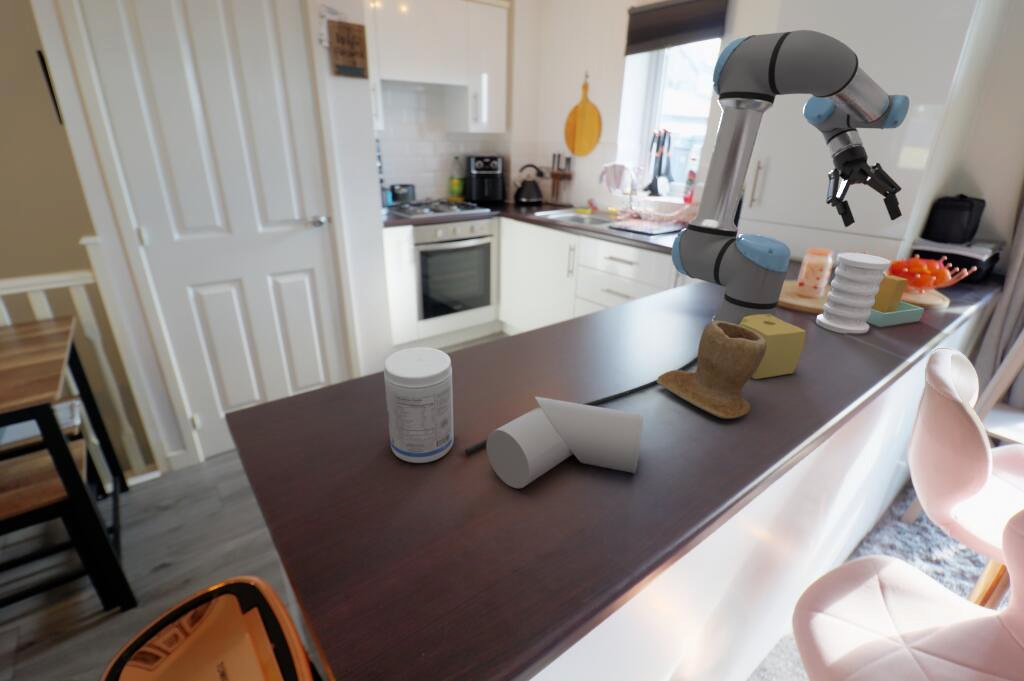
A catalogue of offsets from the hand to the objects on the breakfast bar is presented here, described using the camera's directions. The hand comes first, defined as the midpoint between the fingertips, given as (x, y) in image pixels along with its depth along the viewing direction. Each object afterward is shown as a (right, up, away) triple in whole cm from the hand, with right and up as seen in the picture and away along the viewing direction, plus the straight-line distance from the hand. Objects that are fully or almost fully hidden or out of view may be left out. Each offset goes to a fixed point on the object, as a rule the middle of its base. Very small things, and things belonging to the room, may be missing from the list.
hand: (873, 221), depth 129 cm
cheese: (-46, -38, -28) cm, 66 cm away
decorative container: (-12, -29, -5) cm, 31 cm away
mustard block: (+3, -26, +1) cm, 26 cm away
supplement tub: (-111, -49, -56) cm, 134 cm away
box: (+3, -26, +1) cm, 26 cm away
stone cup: (-62, -43, -41) cm, 86 cm away
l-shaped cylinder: (-89, -51, -59) cm, 118 cm away
